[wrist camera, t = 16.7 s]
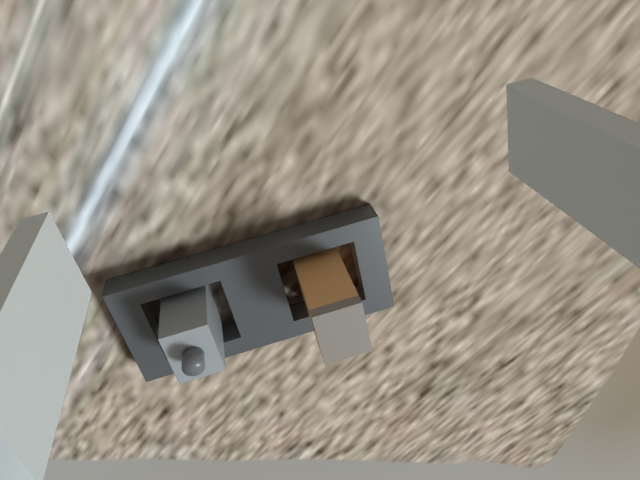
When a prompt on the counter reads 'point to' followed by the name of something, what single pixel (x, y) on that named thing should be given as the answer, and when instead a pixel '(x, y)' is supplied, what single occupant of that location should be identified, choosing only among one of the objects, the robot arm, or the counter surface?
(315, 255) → the plug
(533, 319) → the counter surface
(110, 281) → the gray fixture base
